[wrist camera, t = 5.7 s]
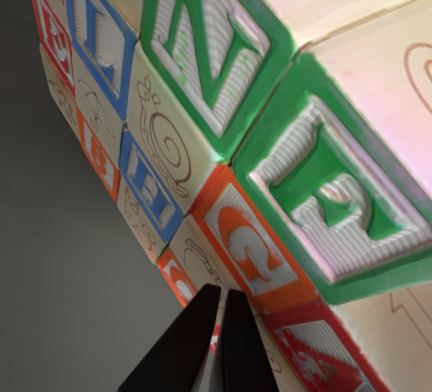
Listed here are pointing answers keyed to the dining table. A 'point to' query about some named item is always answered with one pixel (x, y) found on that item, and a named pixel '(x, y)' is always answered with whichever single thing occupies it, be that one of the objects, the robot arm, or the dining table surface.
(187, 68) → the stack of blocks
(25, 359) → the dining table surface
